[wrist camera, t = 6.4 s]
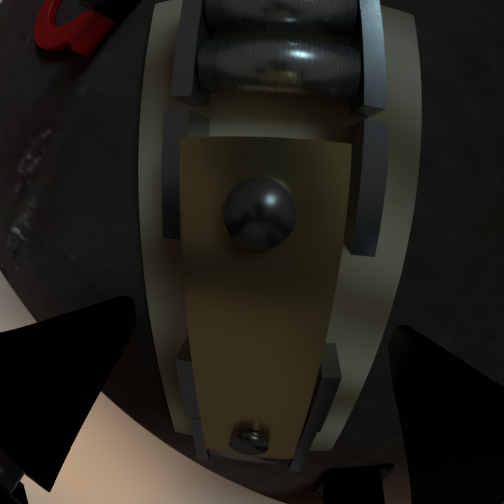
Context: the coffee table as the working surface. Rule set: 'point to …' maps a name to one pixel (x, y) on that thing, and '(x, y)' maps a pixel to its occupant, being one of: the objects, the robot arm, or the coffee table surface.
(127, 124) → the coffee table surface
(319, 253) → the tapered knobbed panel
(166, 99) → the board
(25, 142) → the coffee table surface
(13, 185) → the coffee table surface
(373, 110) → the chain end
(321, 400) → the chain end
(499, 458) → the robot arm
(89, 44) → the gray post stand
